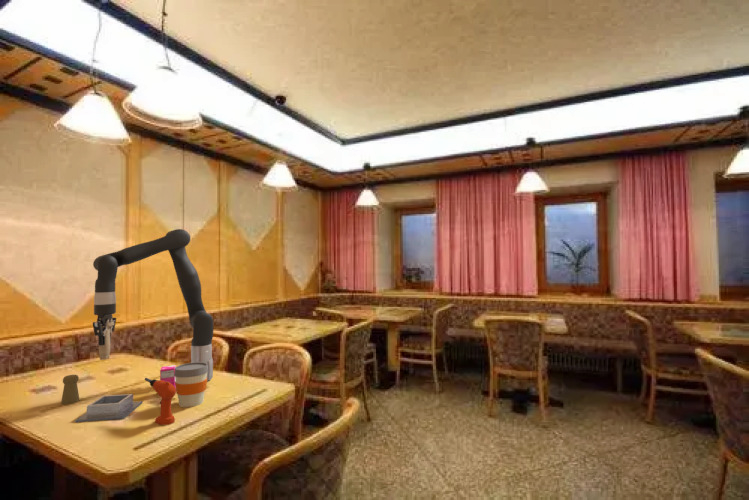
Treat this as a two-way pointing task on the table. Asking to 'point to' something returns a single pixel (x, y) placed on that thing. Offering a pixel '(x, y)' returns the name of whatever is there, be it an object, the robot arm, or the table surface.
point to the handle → (106, 343)
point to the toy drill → (164, 400)
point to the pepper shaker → (70, 390)
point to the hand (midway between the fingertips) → (104, 343)
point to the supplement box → (168, 374)
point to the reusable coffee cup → (191, 383)
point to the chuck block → (110, 408)
